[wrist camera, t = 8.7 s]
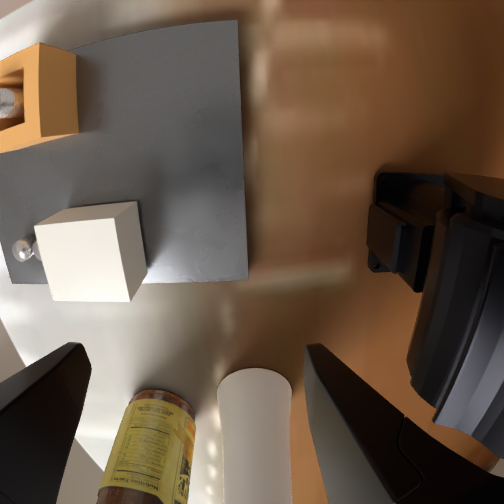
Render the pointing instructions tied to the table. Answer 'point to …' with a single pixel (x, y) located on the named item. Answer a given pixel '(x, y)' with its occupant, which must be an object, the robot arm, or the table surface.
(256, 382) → the cosmetic bottle
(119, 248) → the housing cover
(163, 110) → the base plate
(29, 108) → the orange hollow square block
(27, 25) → the table surface
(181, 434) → the sauce bottle
